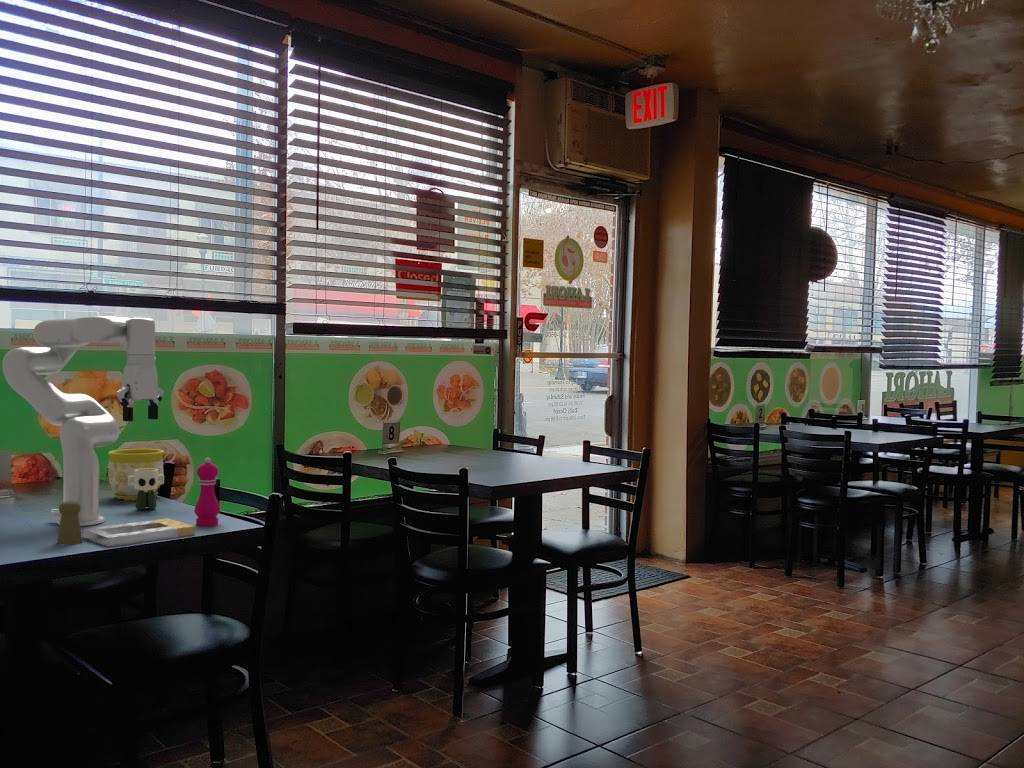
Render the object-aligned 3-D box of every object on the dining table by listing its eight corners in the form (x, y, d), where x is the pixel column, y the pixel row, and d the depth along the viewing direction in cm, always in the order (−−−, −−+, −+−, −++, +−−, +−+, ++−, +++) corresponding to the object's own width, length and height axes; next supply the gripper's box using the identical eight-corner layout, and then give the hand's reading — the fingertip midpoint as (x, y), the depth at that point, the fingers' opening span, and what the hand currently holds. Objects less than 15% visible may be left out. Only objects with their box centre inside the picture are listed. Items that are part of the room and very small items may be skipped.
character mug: (128, 512, 280) (128, 471, 280) (126, 508, 287) (127, 469, 286) (165, 510, 286) (165, 470, 285) (162, 506, 292) (162, 467, 291)
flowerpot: (100, 502, 299) (100, 453, 298) (117, 493, 316) (117, 448, 316) (155, 501, 301) (156, 454, 300) (169, 493, 319) (169, 448, 318)
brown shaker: (86, 540, 238) (86, 499, 238) (76, 545, 232) (76, 503, 232) (63, 540, 238) (63, 499, 238) (52, 544, 232) (52, 503, 232)
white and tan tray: (107, 546, 230) (108, 537, 230) (83, 537, 241) (83, 528, 241) (194, 534, 248) (194, 526, 248) (168, 526, 259) (168, 518, 259)
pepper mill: (194, 522, 265) (194, 456, 265) (219, 521, 268) (219, 456, 267) (194, 527, 258) (194, 459, 258) (220, 526, 261) (220, 458, 260)
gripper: (152, 360, 263) (152, 418, 263) (107, 360, 247) (107, 421, 247) (172, 361, 260) (172, 418, 261) (128, 361, 244) (128, 422, 245)
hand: (140, 420), depth 254 cm, fingers open, 9 cm apart
